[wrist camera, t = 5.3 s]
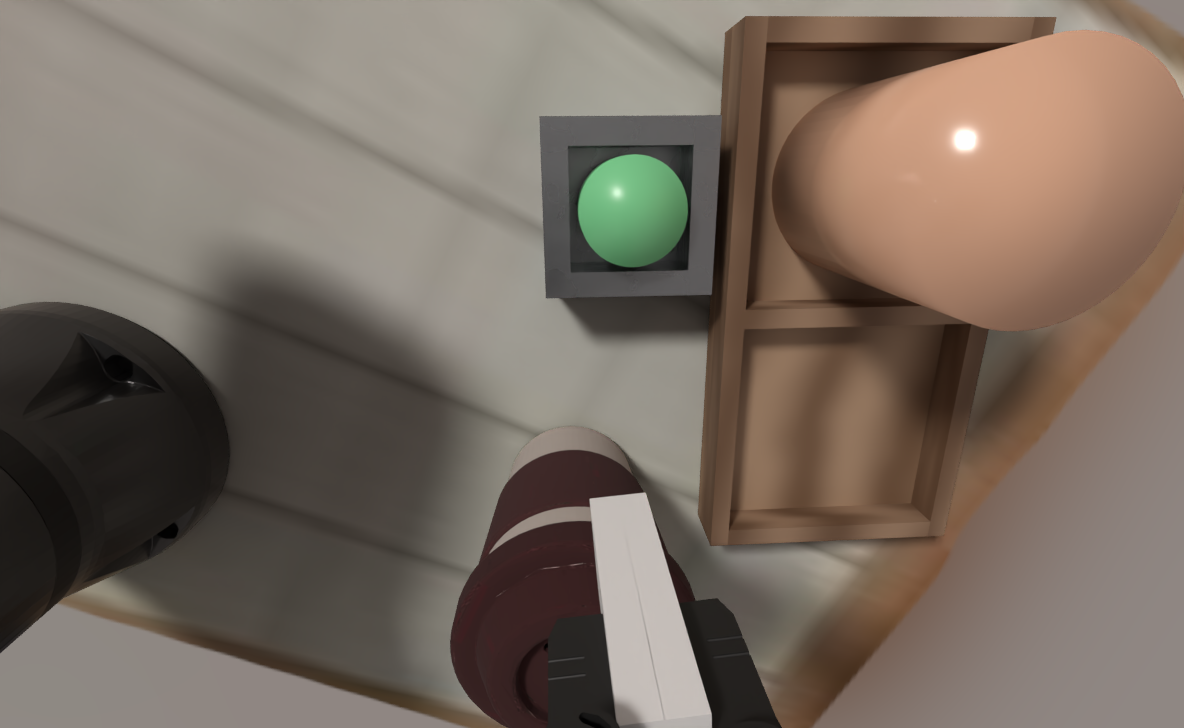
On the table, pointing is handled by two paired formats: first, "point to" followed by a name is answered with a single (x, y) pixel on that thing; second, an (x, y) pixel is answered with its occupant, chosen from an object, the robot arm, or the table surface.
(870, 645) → the table surface
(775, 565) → the table surface
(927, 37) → the divided tray
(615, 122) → the grey square frame
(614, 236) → the button
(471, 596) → the coffee cup
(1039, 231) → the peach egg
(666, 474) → the table surface
